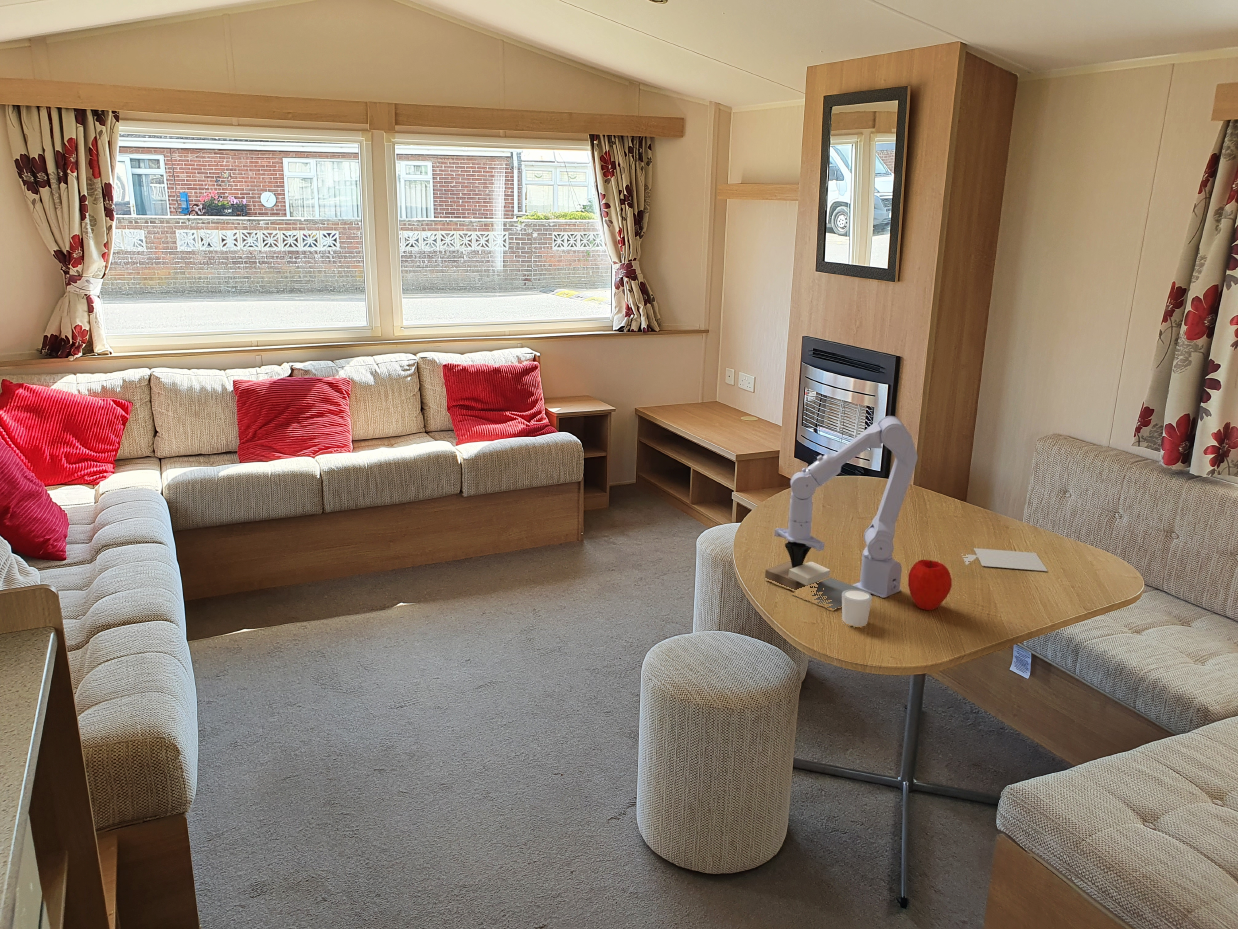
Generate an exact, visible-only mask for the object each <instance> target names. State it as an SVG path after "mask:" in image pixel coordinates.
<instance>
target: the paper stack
mask: <svg viewBox="0 0 1238 929" xmlns="http://www.w3.org/2000/svg"><path fill="white" fill-rule="evenodd" d="M973 550H974V552H975V554H968V555H967V553H965V554H966V556H962V555H963V554H964V553H961V556H962V558H963V557H968V558H963V561H964V564H965V565H966V566H967V565H969V564H970V563H971V562H973V561H974V560H975V559H978V560H979V563H980V564H981V566H982V567H991V568H992V567H993V568H1006V569H1017V570H1029V571H1039V572H1040V571H1041V572H1048V569H1047V568H1046V566H1045V564H1044V563H1043V562H1042V560H1041V559H1040V558H1039V556H1038V554H1037V553H1036V552H1025V551H1017V550H1016V551H1014V550H1003V549H1002V550H1001V549H992V548H991V549H990V548H976V547H974V548H973ZM976 557H977V558H976ZM965 561H966V562H965ZM968 561H971V562H968Z"/></svg>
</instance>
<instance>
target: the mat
mask: <svg viewBox="0 0 1238 929" xmlns="http://www.w3.org/2000/svg"><path fill="white" fill-rule="evenodd" d="M816 584H817V585H818V587H815V586H814V588H817V590H816V594H815V593H814V595H812V596H816V595H817V596H818V594H817V592H818V593H819V592H823V593H822V594H821V596H822V597H823V596H827V598H826V597H825V598H826V599H824V597H823V599H824V600H825V602H826V600H827V601H828V600H832V601H830V602H828V603H827V602H826V604H833V605H831V606H829V607H827V608H832V609H835V608H838V607H841V606H842V592H843V591H846V590H851V589H854V590H862V591H865V592H868V593H869V594H872V593H871V592H869V591H866V590H863V589H860V588H858V587H855V586H853V584H849V583H847V582H844V581H841V580H838V579H836V578H832V577H828V578H825V579H823V580H820V582H819V583H816ZM810 588H813V586H812V587H811V586H810ZM823 588H824V590H823ZM811 592H812V591H811ZM813 592H814V591H813ZM872 595H873V594H872ZM819 596H820V594H819ZM821 596H820V597H818V598H816V599H814V600H820V601H819V602H817V603H818V604H819V603H820V602H821V603H822V604H823V602H824V600H823V599H822V597H821ZM820 598H821V599H820ZM821 600H822V601H823V602H822V601H821ZM825 602H824V603H825ZM821 603H820V604H821ZM823 605H824V604H823Z"/></svg>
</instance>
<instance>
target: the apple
mask: <svg viewBox="0 0 1238 929" xmlns="http://www.w3.org/2000/svg"><path fill="white" fill-rule="evenodd" d="M907 580H908V581H907V582H908V584H907V585H908V590H909V593H910V596H911V598H912V601H913V602H914V604H915V605H916V606H917V607H918V608H920V609H922V610H927V611H933V610H936V609H938V608H939V607H940V605H941V604H942V603H944V601H945V600H946V599H947V597H948V595H949V594H950V592H951V589H952V582H953V580H952V577H951V572H950V571H949V569H948V567H947V566H946V565H945V564H943V563H942V562H939V561H936V560H932V559H931V560H930V559H920V560H918V561H916V562H915V563H914V564H913V566H912V567H911V568H910V570H909V572H908V579H907Z"/></svg>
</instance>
